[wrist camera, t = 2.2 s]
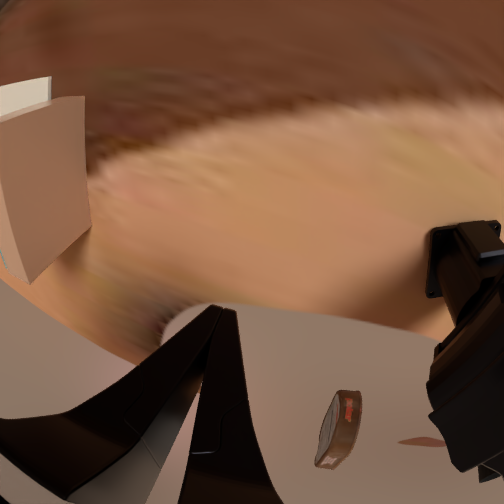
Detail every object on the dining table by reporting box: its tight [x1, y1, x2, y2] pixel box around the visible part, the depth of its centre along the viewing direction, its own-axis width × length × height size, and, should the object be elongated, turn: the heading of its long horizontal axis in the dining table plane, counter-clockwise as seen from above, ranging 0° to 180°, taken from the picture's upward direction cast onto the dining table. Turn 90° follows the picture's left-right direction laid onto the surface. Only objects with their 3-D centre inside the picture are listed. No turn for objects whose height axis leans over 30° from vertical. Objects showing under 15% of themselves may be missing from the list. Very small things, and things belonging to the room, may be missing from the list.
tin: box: [315, 390, 362, 470], centre depth 30 cm, size 15×3×8 cm, turn 1°
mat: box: [0, 76, 52, 116], centre depth 21 cm, size 13×16×1 cm
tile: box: [0, 96, 92, 285], centre depth 17 cm, size 4×12×9 cm, turn 170°
